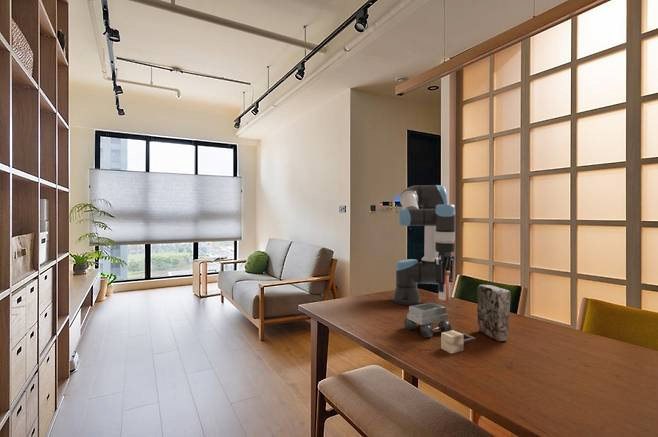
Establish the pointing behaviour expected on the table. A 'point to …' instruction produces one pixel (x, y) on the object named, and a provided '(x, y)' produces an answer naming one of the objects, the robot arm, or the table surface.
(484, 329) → the stone block
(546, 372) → the table surface
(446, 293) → the pin
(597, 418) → the table surface
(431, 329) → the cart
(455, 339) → the block
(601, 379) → the table surface
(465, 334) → the collar
